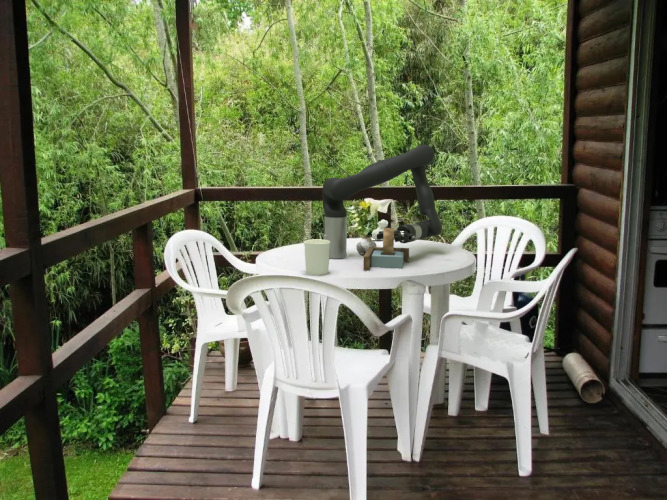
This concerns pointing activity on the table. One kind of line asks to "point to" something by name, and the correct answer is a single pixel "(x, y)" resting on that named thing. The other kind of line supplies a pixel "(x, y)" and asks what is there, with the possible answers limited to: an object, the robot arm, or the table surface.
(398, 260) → the socket block
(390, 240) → the oak dowel
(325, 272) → the candle holder
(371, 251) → the backstop fence
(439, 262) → the table surface
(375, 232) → the duck figurine
